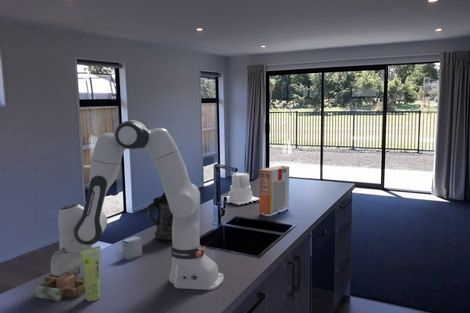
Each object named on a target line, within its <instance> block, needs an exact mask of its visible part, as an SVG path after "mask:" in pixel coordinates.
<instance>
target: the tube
mask: <svg viewBox="0 0 470 313" xmlns="http://www.w3.org/2000/svg"><path fill="white" fill-rule="evenodd" d="M80 256H81V261H82V264H81V267H82V273H83V275H84V283H85V293H84V294H85V300H86V301H87V302H95V301H97V300H99V299H100V297H101V282H100V280H101V279H100V278H101V277H100V274H101V273H100V264H101V263H100V262H101V261H100V260H101V245H98V246H92V248H89V249H85V250H80ZM83 275H82V276H83Z"/></svg>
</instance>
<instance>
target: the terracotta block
mask: <svg viewBox="0 0 470 313" xmlns="http://www.w3.org/2000/svg"><path fill="white" fill-rule="evenodd" d="M75 280H77V276H76V275H72V274H66V273H65V274H63V275H62V276H60V277H58V278H56V289H62V288H64V287H71V288H74V287H75V282H74V281H75Z"/></svg>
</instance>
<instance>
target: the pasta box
mask: <svg viewBox="0 0 470 313" xmlns="http://www.w3.org/2000/svg"><path fill="white" fill-rule="evenodd" d="M258 198H259V201H258V202H259V208H258V209H259V212H258V213H264V214H269V215H270V214H272V213H274V212H277V211H279V210H282V209H284V208H287V207H289V206H290V205H289V204H290V203H289V202H290V166H286V165H285V166H284V165H276V166H271V167H266V168H262V169H259V197H258Z"/></svg>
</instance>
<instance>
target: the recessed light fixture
mask: <svg viewBox="0 0 470 313" xmlns="http://www.w3.org/2000/svg"><path fill="white" fill-rule="evenodd" d="M251 187H252V186H251V185H250V174H249V173H248V172H234V173H232V174H231V185H230V190H229V191H228V195H227V196H225V197H227V201H226V204H227V203H229V204H230V203H231V204H233V205H238V206H241V204H242V205H245V203H246V204H250V203H249V202H251V203H254V202H253V201H256V200H259V198H260V197H255V196H254V195H253V191H252V188H251ZM256 202H257V201H256Z"/></svg>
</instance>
